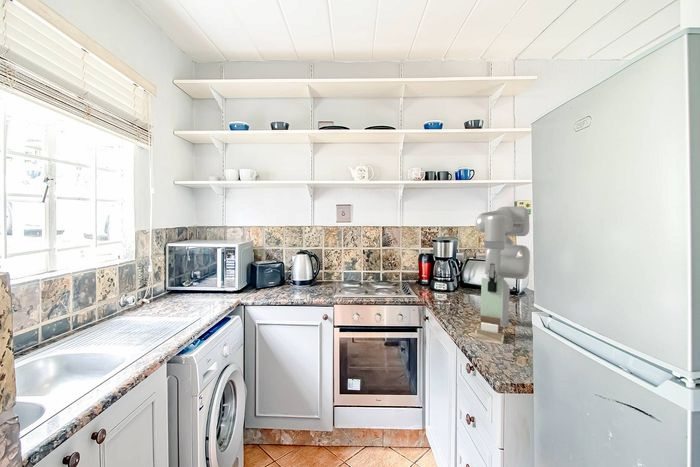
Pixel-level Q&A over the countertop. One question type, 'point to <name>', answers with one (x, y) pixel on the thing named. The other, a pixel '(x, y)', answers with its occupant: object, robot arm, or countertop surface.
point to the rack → (490, 335)
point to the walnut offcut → (490, 320)
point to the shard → (472, 323)
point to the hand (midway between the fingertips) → (492, 290)
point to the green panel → (492, 299)
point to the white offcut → (489, 327)
